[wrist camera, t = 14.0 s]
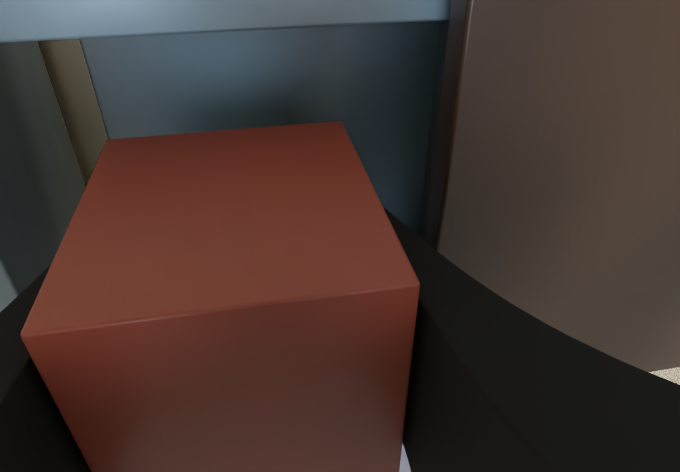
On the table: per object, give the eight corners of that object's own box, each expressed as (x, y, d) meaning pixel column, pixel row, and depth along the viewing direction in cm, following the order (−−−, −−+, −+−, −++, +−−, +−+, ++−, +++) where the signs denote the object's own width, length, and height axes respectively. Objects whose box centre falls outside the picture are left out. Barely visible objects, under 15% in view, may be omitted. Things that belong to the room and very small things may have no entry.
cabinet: (358, 251, 20) (415, 412, 14) (364, -120, 13) (483, -120, 7) (662, 215, 22) (828, 343, 16) (806, -124, 15) (1195, -125, 9)
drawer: (-73, 303, 17) (-186, 464, 12) (-317, -80, 11) (-733, -48, 6) (426, 244, 20) (489, 359, 15) (465, -93, 13) (594, -77, 9)
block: (342, 289, 13) (398, 484, 8) (157, 313, 12) (123, 536, 8) (342, 119, 10) (422, 282, 6) (106, 138, 9) (16, 335, 5)
